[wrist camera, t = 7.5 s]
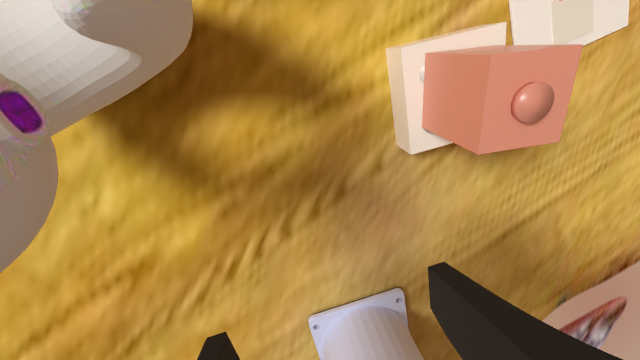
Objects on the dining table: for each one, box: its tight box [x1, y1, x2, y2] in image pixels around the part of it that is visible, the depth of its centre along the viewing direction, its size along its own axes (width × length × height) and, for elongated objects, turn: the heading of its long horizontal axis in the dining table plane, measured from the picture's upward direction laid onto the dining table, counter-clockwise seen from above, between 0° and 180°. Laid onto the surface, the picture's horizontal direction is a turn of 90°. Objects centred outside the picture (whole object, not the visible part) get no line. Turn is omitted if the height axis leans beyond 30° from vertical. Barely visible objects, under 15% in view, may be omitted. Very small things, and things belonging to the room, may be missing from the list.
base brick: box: [386, 22, 506, 155], centre depth 18 cm, size 6×6×2 cm
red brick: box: [422, 44, 583, 155], centre depth 15 cm, size 4×4×5 cm
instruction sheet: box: [509, 0, 629, 46], centre depth 18 cm, size 6×8×1 cm
